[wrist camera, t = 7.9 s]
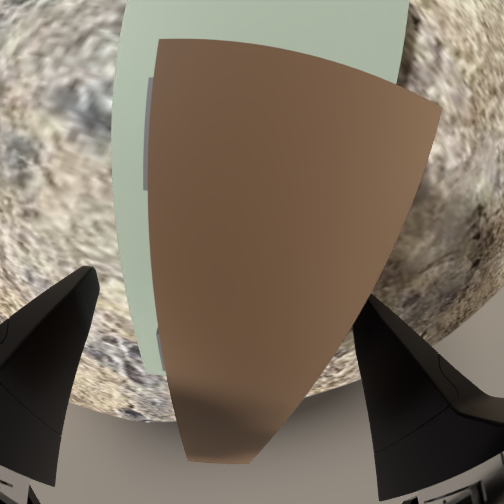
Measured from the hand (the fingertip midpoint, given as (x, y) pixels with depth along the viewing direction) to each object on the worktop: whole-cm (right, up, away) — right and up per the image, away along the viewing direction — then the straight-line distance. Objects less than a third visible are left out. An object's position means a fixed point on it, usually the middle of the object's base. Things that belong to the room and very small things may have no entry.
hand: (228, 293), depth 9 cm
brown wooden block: (0, +2, +2) cm, 3 cm away
